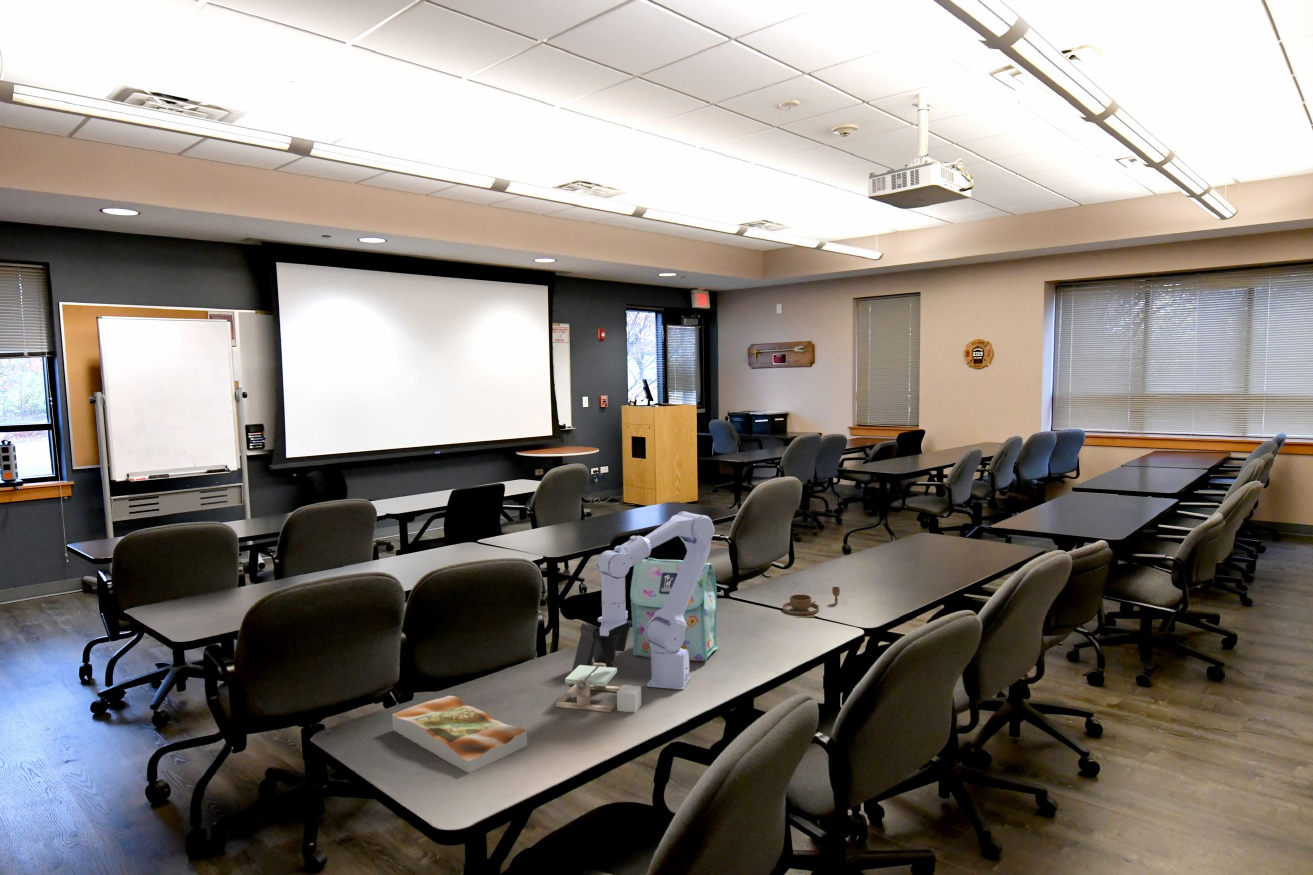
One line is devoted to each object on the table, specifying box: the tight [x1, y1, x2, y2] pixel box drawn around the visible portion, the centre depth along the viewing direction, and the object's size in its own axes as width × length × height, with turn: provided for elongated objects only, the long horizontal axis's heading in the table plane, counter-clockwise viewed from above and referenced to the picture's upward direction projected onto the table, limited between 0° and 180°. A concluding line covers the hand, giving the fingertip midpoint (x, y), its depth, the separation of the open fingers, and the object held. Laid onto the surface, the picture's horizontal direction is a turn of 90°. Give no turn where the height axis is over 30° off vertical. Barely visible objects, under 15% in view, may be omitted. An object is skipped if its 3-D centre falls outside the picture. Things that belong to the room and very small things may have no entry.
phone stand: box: [572, 622, 613, 671], centre depth 201 cm, size 9×6×12 cm, turn 128°
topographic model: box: [391, 695, 528, 774], centre depth 164 cm, size 30×14×5 cm, turn 48°
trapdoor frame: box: [555, 662, 622, 713], centre depth 182 cm, size 14×14×7 cm
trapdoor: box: [564, 665, 618, 688], centre depth 182 cm, size 10×9×2 cm
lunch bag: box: [629, 557, 719, 662], centre depth 210 cm, size 23×16×27 cm
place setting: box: [782, 586, 841, 619], centre depth 246 cm, size 18×20×6 cm
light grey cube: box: [616, 684, 642, 713], centre depth 176 cm, size 4×4×4 cm
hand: (614, 656), depth 181 cm, fingers open, 7 cm apart
